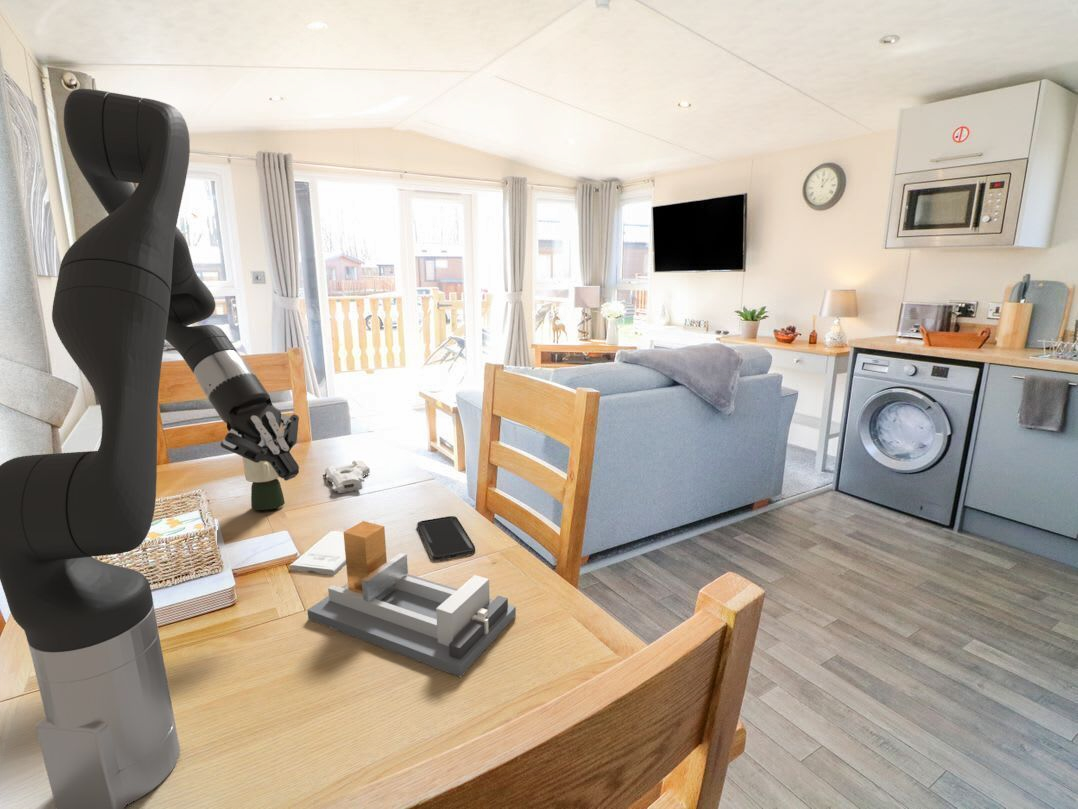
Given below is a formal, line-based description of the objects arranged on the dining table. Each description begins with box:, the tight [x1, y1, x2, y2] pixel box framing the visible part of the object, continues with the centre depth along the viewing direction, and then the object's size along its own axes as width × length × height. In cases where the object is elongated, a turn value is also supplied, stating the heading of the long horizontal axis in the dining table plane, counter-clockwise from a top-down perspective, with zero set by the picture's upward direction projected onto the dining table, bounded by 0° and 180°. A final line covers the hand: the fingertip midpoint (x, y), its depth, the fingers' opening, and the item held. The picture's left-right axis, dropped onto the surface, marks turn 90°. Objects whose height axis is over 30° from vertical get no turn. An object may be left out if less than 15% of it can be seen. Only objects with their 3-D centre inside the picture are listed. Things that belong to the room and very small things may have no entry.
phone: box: [416, 515, 476, 562], centre depth 105 cm, size 8×1×15 cm
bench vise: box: [307, 573, 517, 677], centre depth 81 cm, size 26×14×6 cm, turn 63°
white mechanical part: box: [324, 460, 371, 494], centre depth 133 cm, size 18×3×10 cm
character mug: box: [242, 457, 286, 511], centre depth 116 cm, size 11×7×13 cm, turn 32°
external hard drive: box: [289, 530, 346, 576], centre depth 99 cm, size 2×8×12 cm
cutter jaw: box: [341, 520, 409, 602], centre depth 83 cm, size 7×8×10 cm
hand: (292, 476), depth 87 cm, fingers closed
